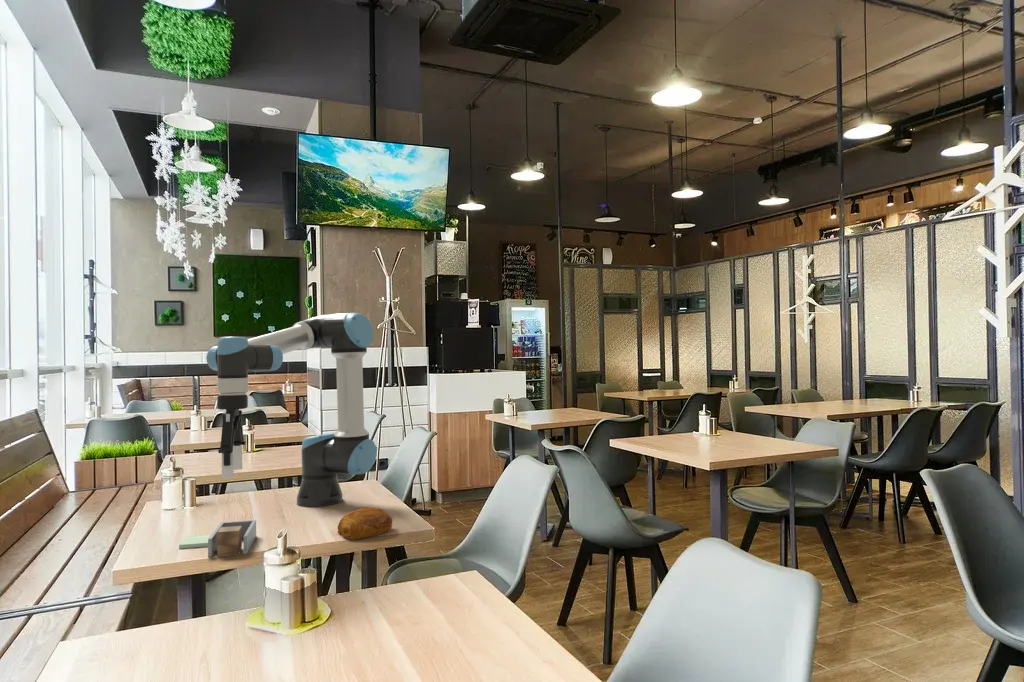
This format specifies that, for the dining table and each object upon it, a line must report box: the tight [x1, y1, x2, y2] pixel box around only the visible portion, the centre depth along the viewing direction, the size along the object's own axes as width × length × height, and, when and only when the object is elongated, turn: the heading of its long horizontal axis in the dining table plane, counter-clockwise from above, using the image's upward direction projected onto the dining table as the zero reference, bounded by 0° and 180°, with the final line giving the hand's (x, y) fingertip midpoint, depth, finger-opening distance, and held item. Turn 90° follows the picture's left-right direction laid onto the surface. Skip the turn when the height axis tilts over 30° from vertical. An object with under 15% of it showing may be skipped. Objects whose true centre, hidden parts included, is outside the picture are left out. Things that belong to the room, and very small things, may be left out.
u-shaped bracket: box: [207, 519, 257, 558], centre depth 172 cm, size 9×17×4 cm, turn 14°
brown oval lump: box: [337, 506, 393, 540], centre depth 184 cm, size 14×16×8 cm
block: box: [216, 526, 243, 557], centre depth 167 cm, size 5×5×6 cm
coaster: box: [178, 534, 212, 550], centre depth 175 cm, size 8×8×1 cm
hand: (232, 473), depth 173 cm, fingers open, 13 cm apart
